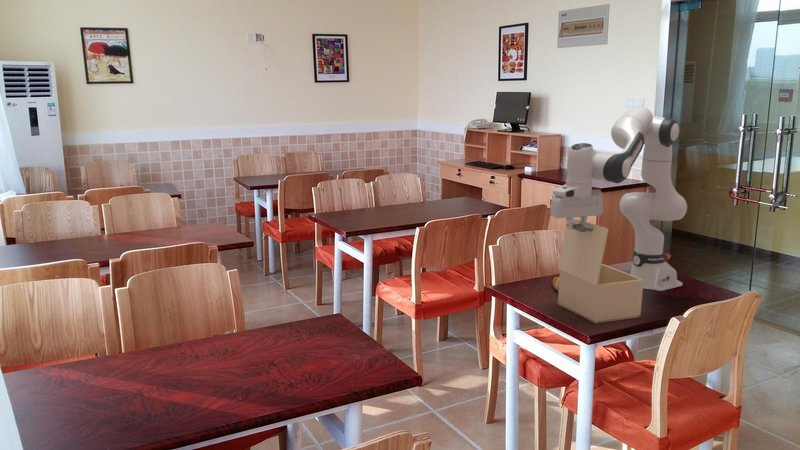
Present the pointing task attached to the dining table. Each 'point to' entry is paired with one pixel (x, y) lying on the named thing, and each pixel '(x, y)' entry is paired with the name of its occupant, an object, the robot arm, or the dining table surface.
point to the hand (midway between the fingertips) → (575, 229)
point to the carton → (602, 295)
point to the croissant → (556, 283)
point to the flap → (583, 251)
